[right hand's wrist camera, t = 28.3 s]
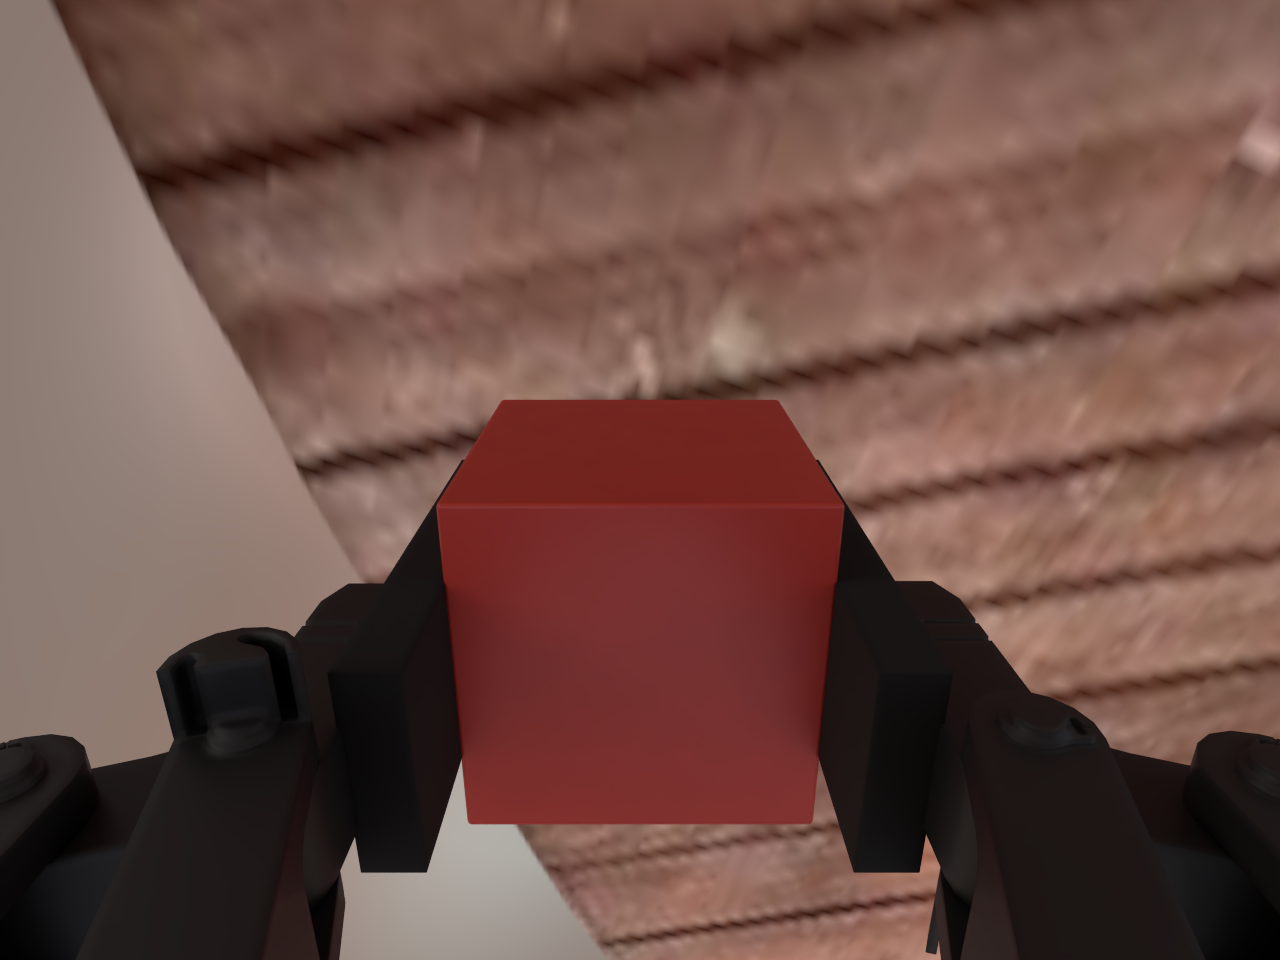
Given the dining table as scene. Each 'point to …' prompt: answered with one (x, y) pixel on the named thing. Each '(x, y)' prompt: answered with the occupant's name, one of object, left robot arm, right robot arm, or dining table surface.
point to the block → (640, 612)
